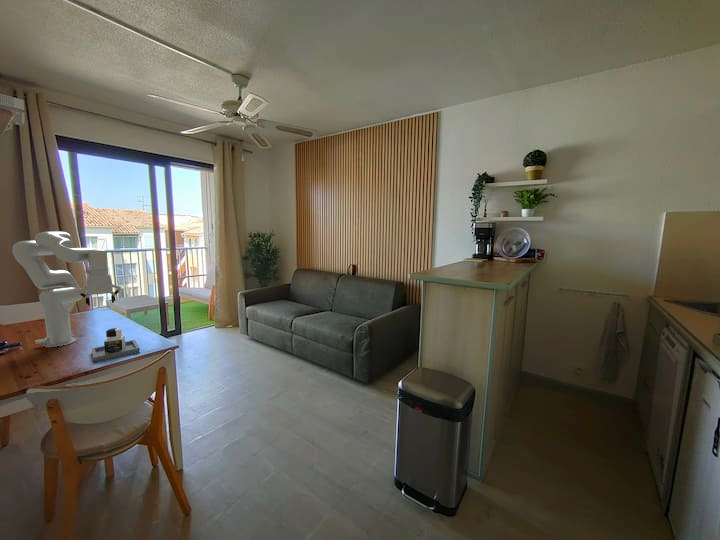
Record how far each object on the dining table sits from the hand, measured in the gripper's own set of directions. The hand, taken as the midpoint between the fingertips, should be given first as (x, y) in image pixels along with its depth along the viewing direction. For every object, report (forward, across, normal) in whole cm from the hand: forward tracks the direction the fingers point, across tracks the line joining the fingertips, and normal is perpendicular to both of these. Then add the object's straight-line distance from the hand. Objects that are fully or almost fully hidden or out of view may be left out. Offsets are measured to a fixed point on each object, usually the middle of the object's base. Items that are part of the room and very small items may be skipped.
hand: (101, 303), depth 155 cm
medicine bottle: (+24, +4, -12) cm, 27 cm away
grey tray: (+24, +4, -12) cm, 28 cm away
